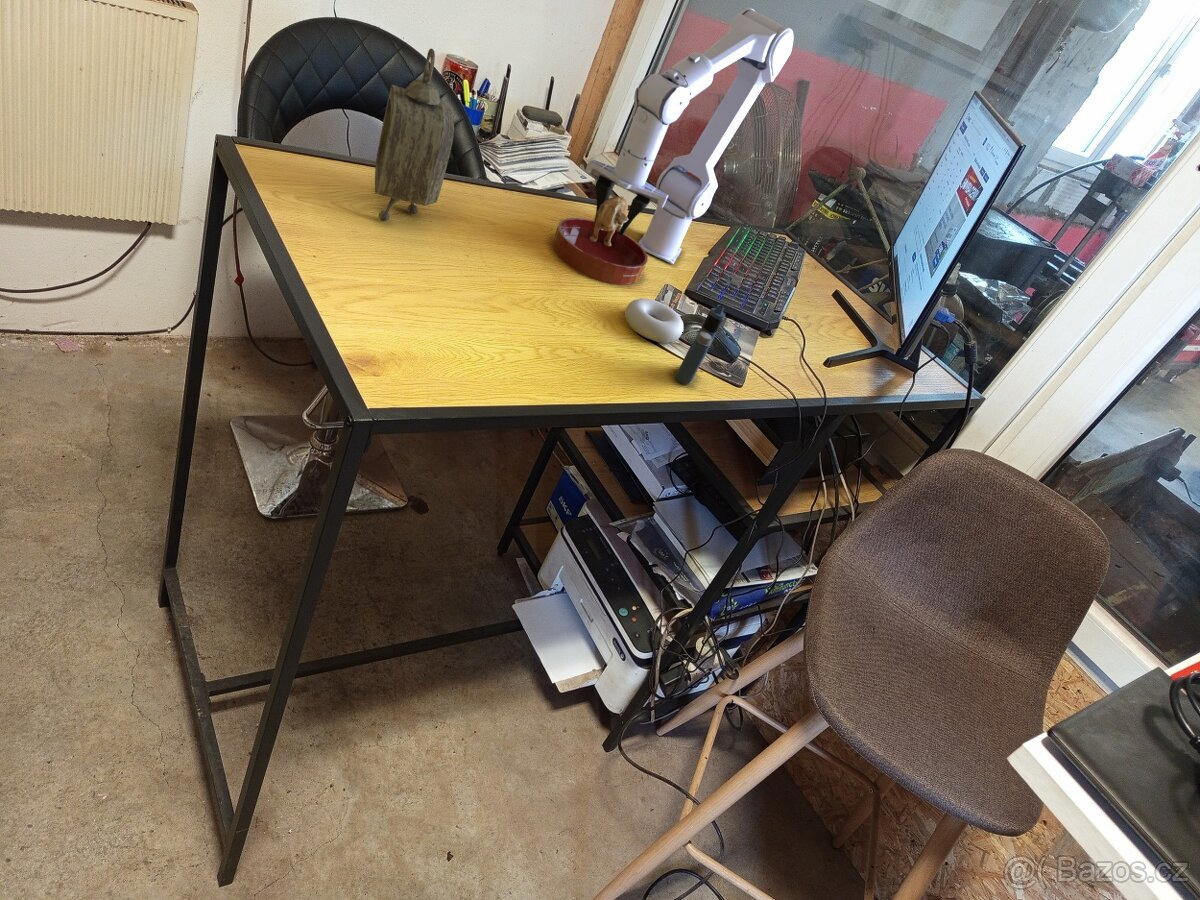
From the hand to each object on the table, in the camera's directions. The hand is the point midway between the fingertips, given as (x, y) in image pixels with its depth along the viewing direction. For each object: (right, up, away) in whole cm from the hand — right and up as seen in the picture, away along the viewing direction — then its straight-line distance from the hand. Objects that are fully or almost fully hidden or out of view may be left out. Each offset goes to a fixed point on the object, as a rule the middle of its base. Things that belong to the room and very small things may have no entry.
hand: (609, 227), depth 136 cm
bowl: (-2, -5, +4) cm, 6 cm away
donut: (+6, -20, -10) cm, 23 cm away
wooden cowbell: (-34, -1, -10) cm, 36 cm away
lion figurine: (-1, -2, 0) cm, 2 cm away
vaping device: (+11, -28, -18) cm, 35 cm away
